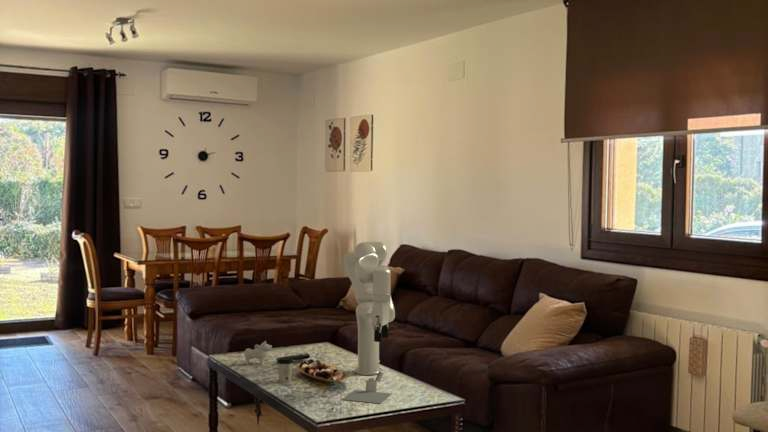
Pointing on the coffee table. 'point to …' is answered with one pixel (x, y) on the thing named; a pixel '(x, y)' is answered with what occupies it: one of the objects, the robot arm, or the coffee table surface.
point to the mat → (367, 396)
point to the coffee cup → (285, 369)
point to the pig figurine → (257, 352)
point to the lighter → (373, 382)
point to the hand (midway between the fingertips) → (381, 339)
